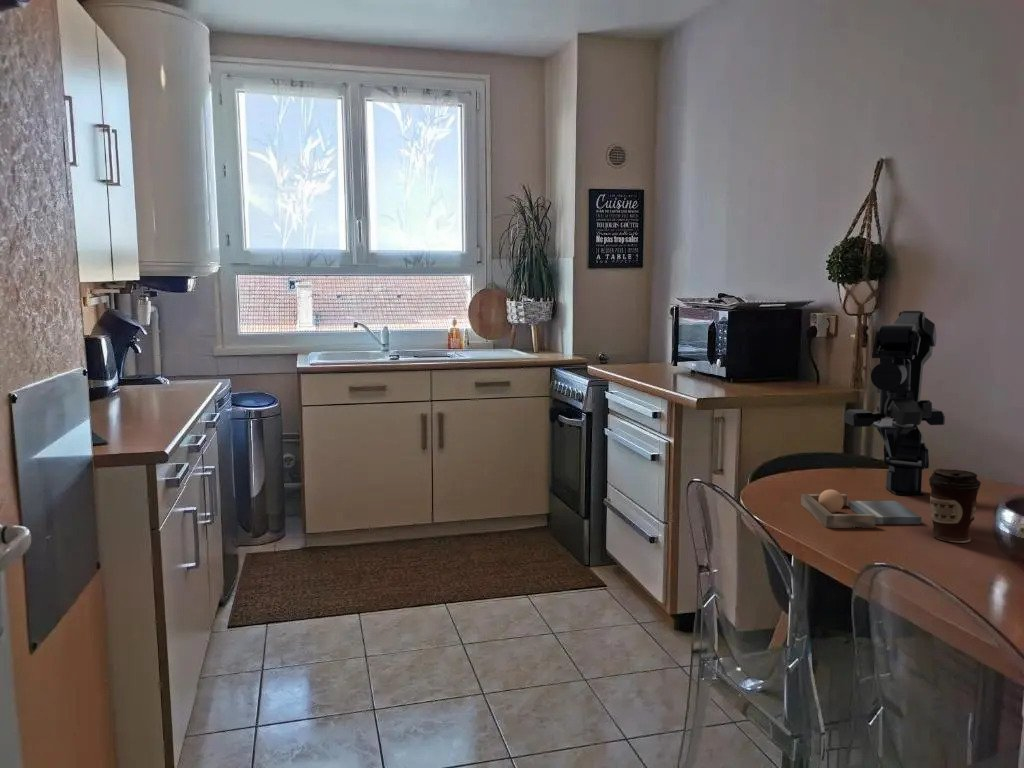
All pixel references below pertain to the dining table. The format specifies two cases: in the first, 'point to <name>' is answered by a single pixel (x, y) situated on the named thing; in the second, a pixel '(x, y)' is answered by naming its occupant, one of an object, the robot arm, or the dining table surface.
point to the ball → (831, 500)
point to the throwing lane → (860, 513)
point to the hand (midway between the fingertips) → (892, 456)
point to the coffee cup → (953, 503)
